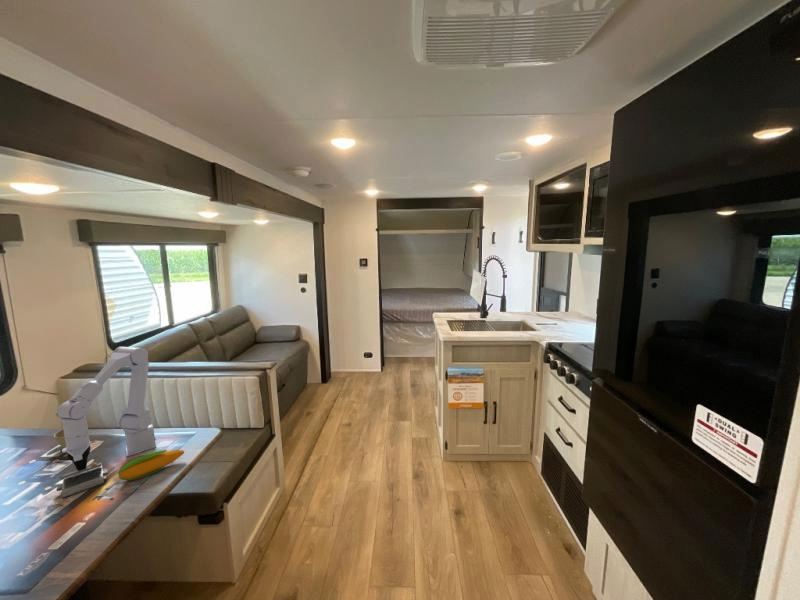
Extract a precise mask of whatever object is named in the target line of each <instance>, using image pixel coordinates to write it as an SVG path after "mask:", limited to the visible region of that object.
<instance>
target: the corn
mask: <svg viewBox="0 0 800 600" xmlns="http://www.w3.org/2000/svg"><path fill="white" fill-rule="evenodd" d="M184 454H185V450H182V449H174V450H169V451H168V450H167V449H163V450H155V451H154V452H150V453H146V454H144V455H139V456H137V457H134V458H132V459H130V460H129V461H127V462H125V464H124V465H122V466H121V468H120V470H119V472H118V478H119V479H120V480H123V481H134V480H137V479H141V478H144V477H147V476H150V475H152V474H155V473H157V472H159V471H162V470H164V469H166V466H168V465H170V464H172V463H173V462H175V461H176V460H178V459H179V458H180V457H182V456H183V455H184Z"/></svg>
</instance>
